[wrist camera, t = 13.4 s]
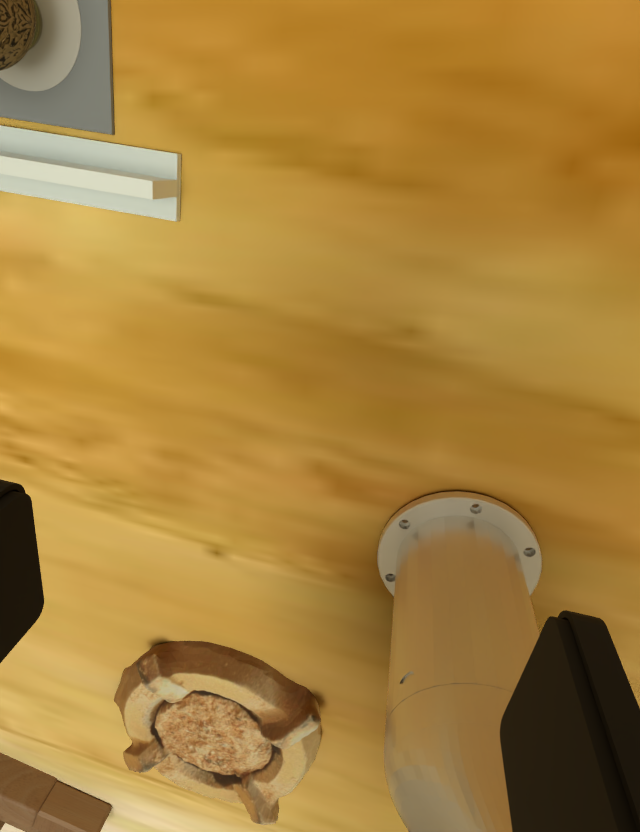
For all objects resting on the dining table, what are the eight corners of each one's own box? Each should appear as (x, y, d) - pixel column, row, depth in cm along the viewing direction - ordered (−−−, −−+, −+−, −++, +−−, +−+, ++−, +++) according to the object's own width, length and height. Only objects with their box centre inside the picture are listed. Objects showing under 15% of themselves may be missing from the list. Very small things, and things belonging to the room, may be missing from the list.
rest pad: (114, 134, 34) (111, 134, 33) (-43, 109, 35) (-48, 109, 34) (107, -92, 29) (103, -96, 28) (-75, -113, 30) (-81, -117, 29)
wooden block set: (-46, 787, 63) (91, 849, 64) (-12, 742, 68) (115, 799, 69) (-58, 849, 71) (65, 904, 71) (-26, 804, 76) (89, 855, 76)
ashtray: (380, 732, 54) (376, 783, 49) (245, 808, 64) (232, 856, 59) (197, 595, 50) (175, 636, 46) (84, 698, 60) (57, 741, 56)
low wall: (179, 220, 35) (152, 226, 32) (-13, 187, 36) (-60, 189, 33) (181, 154, 33) (152, 152, 30) (-21, 121, 35) (-72, 116, 31)
